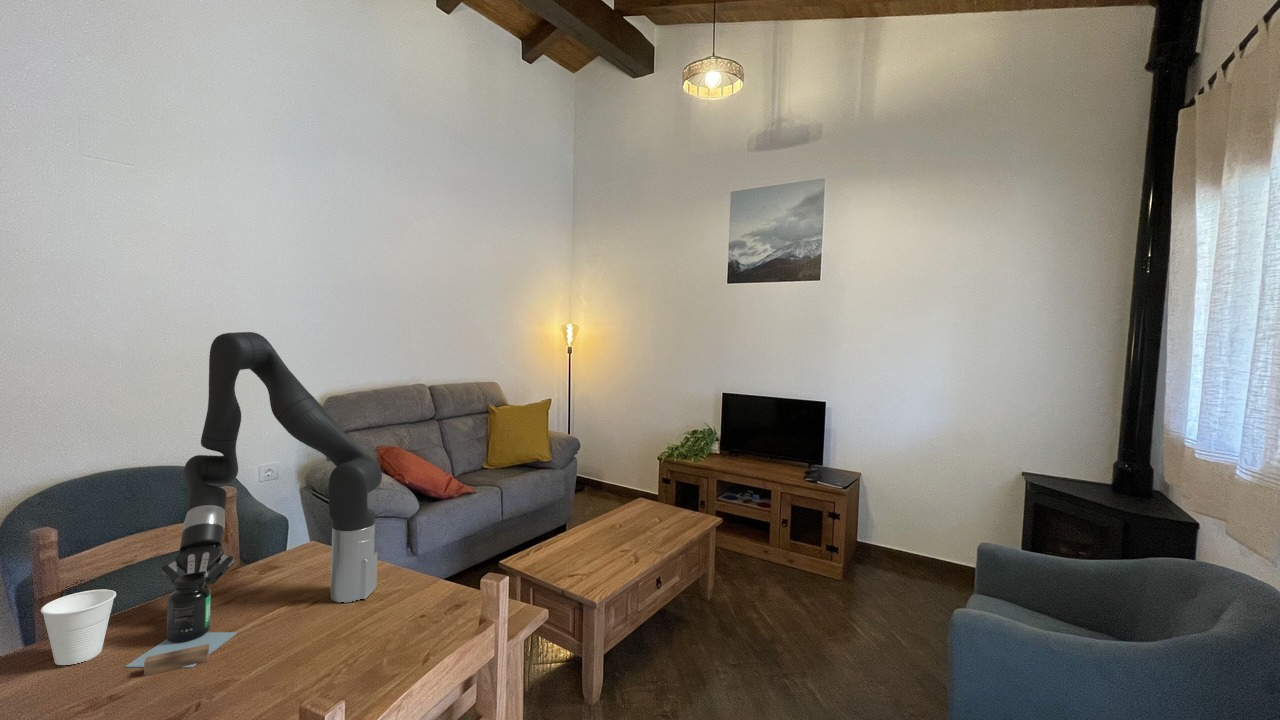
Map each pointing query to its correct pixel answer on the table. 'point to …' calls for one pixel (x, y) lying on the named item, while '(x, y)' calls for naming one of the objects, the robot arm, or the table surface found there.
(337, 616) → the table surface
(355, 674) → the table surface
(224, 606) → the table surface
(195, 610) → the supplement bottle
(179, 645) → the mat
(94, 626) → the cup
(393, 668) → the table surface
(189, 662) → the rail
